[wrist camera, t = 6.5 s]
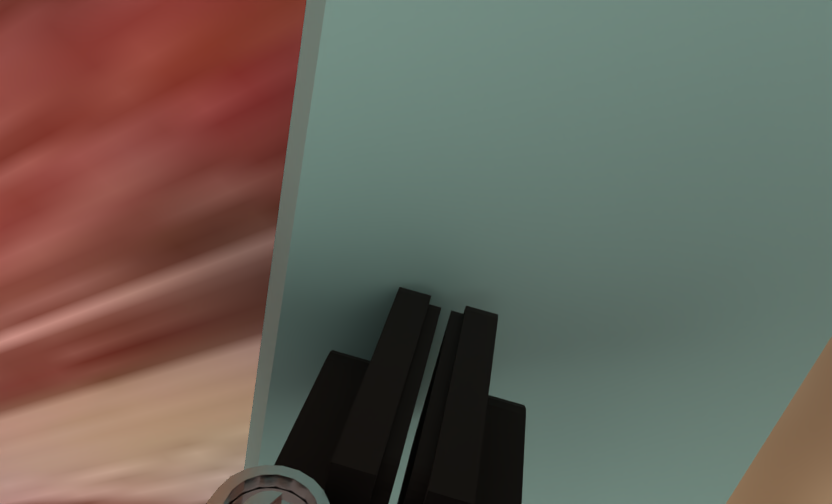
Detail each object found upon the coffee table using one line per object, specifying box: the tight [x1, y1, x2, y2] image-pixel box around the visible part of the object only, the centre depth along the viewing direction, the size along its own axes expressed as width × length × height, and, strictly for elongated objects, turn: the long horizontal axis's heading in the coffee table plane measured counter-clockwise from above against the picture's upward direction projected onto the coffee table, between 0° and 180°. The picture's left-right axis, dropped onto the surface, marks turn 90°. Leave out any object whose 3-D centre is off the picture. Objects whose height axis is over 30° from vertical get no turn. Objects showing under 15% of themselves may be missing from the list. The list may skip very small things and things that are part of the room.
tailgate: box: [244, 0, 832, 504], centre depth 14 cm, size 2×19×12 cm
